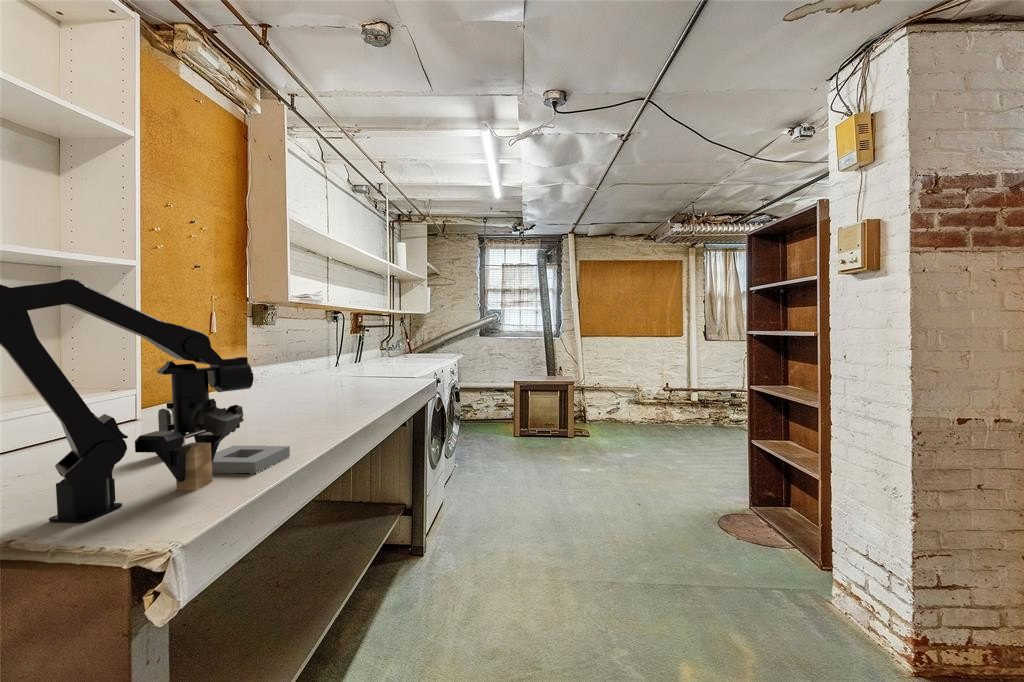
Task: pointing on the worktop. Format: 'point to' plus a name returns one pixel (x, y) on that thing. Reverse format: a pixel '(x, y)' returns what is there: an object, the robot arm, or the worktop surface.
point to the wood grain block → (197, 467)
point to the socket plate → (248, 458)
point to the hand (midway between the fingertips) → (194, 475)
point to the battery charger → (165, 419)
